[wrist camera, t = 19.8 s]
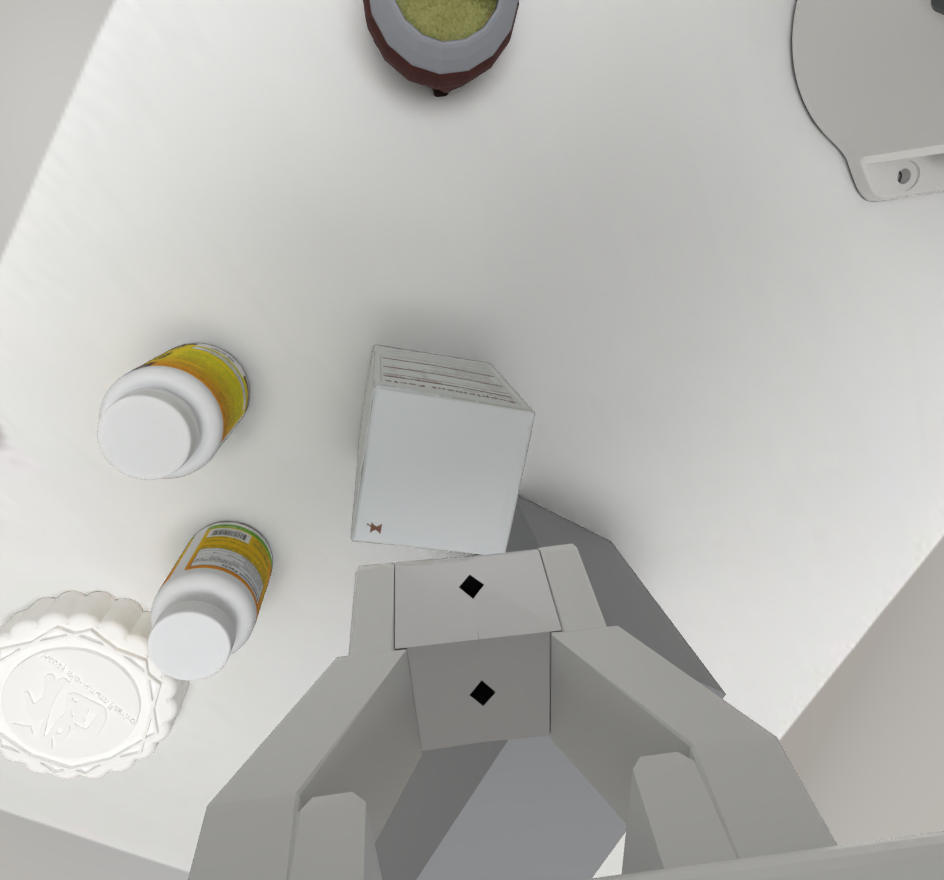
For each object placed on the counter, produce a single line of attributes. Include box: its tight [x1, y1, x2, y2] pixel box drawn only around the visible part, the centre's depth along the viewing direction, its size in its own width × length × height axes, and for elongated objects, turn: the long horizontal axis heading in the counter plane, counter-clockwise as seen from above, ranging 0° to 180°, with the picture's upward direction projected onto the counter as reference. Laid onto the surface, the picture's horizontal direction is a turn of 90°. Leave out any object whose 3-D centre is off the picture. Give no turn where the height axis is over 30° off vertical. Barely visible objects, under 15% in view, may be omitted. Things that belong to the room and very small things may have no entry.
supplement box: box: [351, 345, 535, 555], centre depth 36 cm, size 7×7×13 cm
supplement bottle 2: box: [147, 522, 273, 681], centre depth 38 cm, size 5×5×10 cm
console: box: [375, 495, 726, 880], centre depth 40 cm, size 8×24×16 cm, turn 150°
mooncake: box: [0, 591, 189, 779], centre depth 42 cm, size 12×12×4 cm
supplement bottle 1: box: [97, 343, 250, 480], centre depth 35 cm, size 6×6×10 cm
